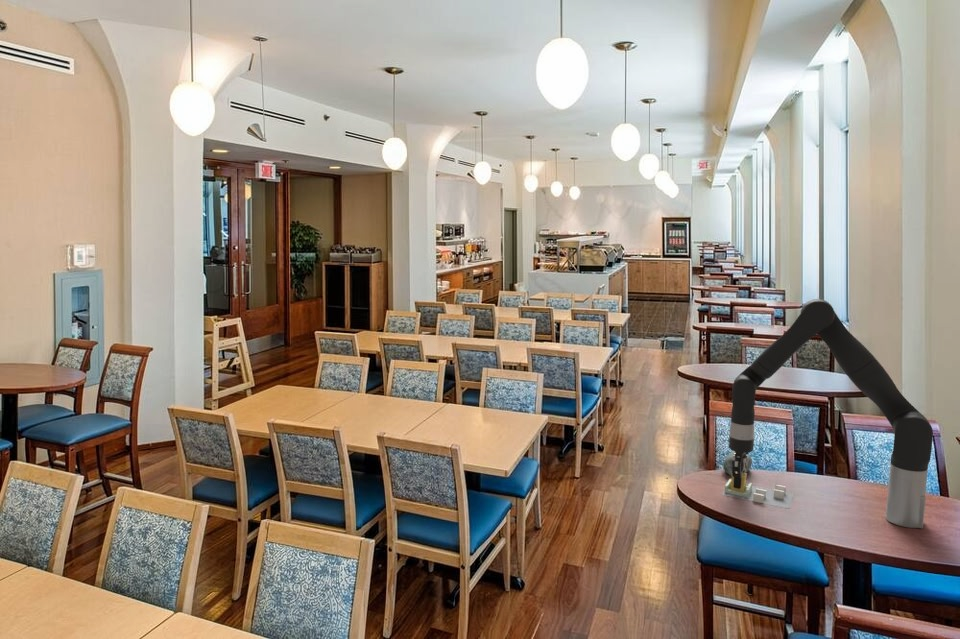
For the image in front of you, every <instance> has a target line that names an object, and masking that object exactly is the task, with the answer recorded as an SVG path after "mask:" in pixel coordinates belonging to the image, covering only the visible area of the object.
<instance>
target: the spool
mask: <svg viewBox="0 0 960 639" xmlns="http://www.w3.org/2000/svg"><path fill="white" fill-rule="evenodd" d="M733 455H735V451H733V450H731V452H729V454H727V456H726V457H725V458H724V460H723V464H722V467H723V470H724V471H725V472H726V474H728V476H730V477H732V461H733ZM752 464H753V458H752V457H751V455H750V453H748V459H747V468H746V471H745V472H744V473H747V472H748V471H749V470H750V468H751V467H752Z"/></svg>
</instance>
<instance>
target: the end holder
mask: <svg viewBox="0 0 960 639" xmlns="http://www.w3.org/2000/svg"><path fill="white" fill-rule="evenodd" d="M747 485H748V486H746V493H744V492H739V491H734V490H729V489H730V488H731V478H729V479H728V480H727V482H726V483H725V487H724V491H725V493H730V494H734V495H739V496H744V497H748V496H749V494H750V493H751V491H752V486H753V483H752V482H749V483H748V484H747Z"/></svg>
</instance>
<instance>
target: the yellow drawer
mask: <svg viewBox="0 0 960 639" xmlns="http://www.w3.org/2000/svg"><path fill="white" fill-rule="evenodd" d="M736 473H737V474H739V472H737V471H736ZM747 476H748V473H747V472H746V473H742V478H741V488H740V489H737V488H734V487H733V486H734V477H732V476H730V477H731V478H730V479H731V490H734V491H739V492H744V493H745V491H746V484H747V481H748V480H747Z"/></svg>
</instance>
